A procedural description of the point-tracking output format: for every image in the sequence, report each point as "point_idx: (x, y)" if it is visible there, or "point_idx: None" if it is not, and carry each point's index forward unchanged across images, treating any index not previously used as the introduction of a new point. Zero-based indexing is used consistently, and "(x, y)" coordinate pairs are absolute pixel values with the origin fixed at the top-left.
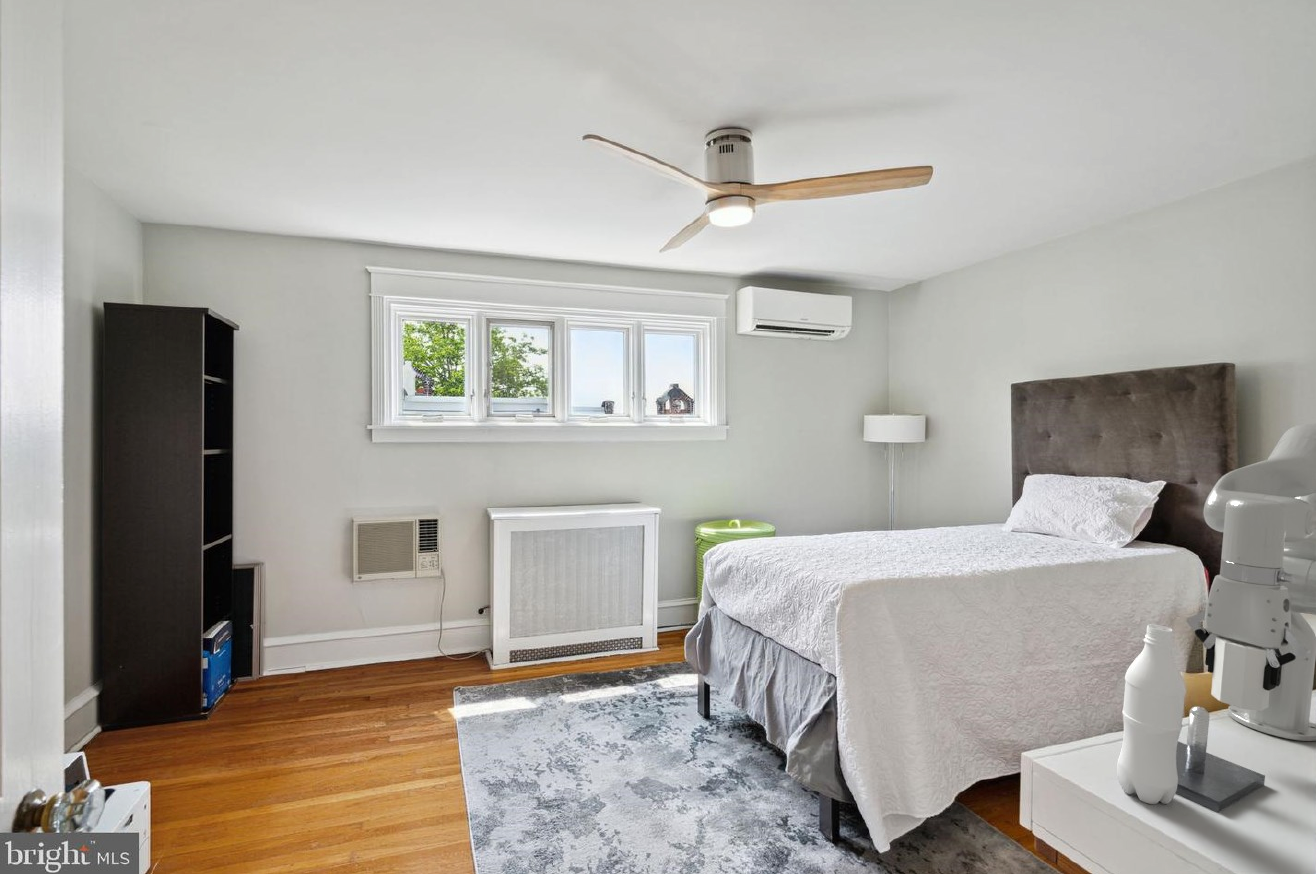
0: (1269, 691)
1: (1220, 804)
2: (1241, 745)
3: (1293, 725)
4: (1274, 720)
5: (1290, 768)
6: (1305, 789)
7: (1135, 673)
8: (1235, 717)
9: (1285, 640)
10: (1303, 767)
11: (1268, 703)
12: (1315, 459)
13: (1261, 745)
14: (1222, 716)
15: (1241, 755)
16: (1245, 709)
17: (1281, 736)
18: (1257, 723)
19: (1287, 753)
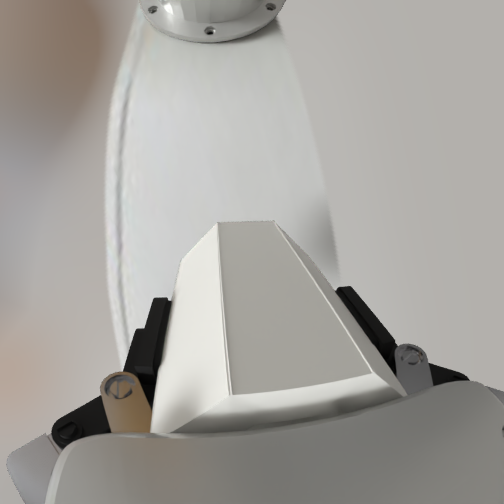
0: (325, 278)
1: None
2: (218, 152)
3: (259, 2)
4: (230, 13)
5: (303, 177)
6: (335, 246)
7: None
8: (162, 30)
9: (485, 389)
10: (313, 148)
11: (311, 260)
12: None
13: (238, 109)
14: (140, 33)
15: (237, 207)
16: (172, 9)
17: (246, 34)
18: (204, 30)
19: (278, 102)
